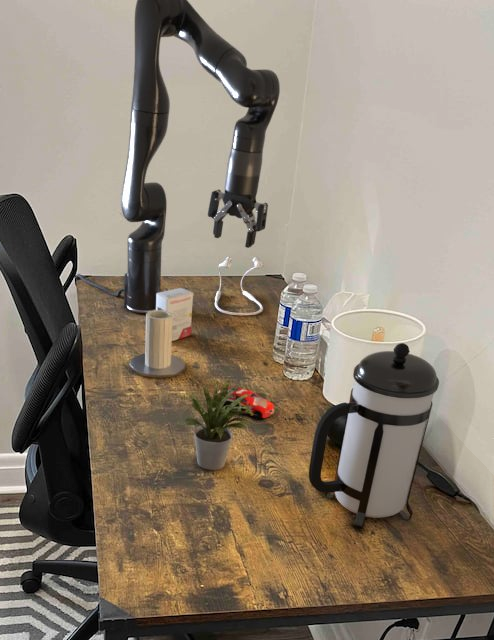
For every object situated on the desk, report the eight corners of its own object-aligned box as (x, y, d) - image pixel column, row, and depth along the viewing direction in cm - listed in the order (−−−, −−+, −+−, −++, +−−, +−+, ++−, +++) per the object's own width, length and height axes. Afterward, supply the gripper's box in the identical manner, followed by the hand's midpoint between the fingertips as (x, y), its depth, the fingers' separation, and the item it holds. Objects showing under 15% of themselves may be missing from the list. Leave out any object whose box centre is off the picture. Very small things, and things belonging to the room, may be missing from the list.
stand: (118, 368, 172) (118, 327, 166) (149, 351, 181) (150, 311, 176) (165, 383, 166) (167, 341, 161) (195, 364, 175) (197, 324, 170)
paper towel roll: (140, 364, 172) (141, 315, 166) (154, 356, 177) (155, 308, 170) (161, 370, 170) (163, 321, 163) (175, 362, 174) (177, 313, 168)
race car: (277, 413, 156) (280, 396, 153) (266, 423, 152) (269, 405, 149) (223, 396, 161) (224, 379, 159) (211, 405, 157) (212, 388, 155)
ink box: (179, 330, 194) (181, 286, 187) (192, 336, 190) (194, 291, 184) (153, 337, 189) (154, 292, 182) (166, 343, 186) (167, 298, 179)
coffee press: (334, 473, 136) (363, 317, 120) (421, 500, 129) (464, 339, 113) (299, 519, 123) (326, 352, 107) (393, 551, 116) (437, 378, 100)
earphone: (252, 278, 221) (266, 252, 203) (255, 331, 219) (270, 309, 201) (207, 278, 220) (218, 252, 202) (210, 331, 217) (221, 310, 200)
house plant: (191, 493, 129) (196, 409, 120) (155, 456, 139) (158, 376, 130) (259, 475, 134) (269, 394, 126) (220, 440, 145) (227, 364, 136)
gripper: (279, 175, 165) (266, 246, 174) (225, 160, 170) (215, 230, 180) (263, 180, 159) (251, 254, 169) (208, 165, 165) (199, 237, 175)
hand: (232, 242), depth 174 cm, fingers open, 8 cm apart
